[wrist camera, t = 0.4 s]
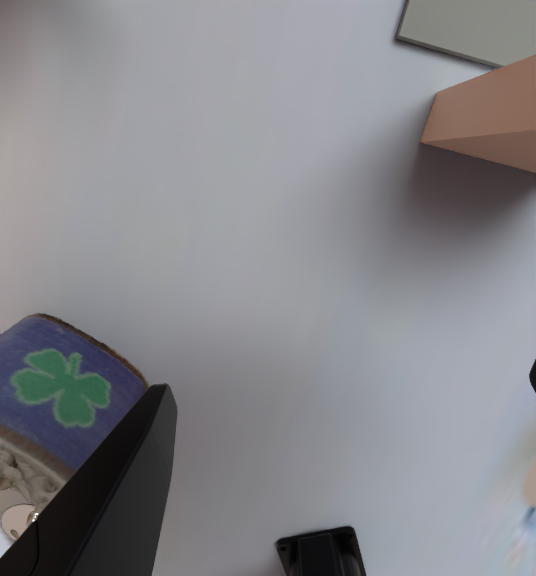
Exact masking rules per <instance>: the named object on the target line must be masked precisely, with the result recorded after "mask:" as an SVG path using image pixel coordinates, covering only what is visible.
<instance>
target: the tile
mask: <svg viewBox="0 0 536 576" xmlns="http://www.w3.org/2000/svg"><path fill="white" fill-rule="evenodd" d="M420 142H421V143H424V144H428V145H432V146H436V147H439V148H443V149H447V150H451V151H455V152H458V153H462V154H466V155H470V156H473V157H477V158H481V159H485V160H489V161H492V162H496V163H500V164H504V165H508V166H511V167H515V168H519V169H523V170H526V171H530V172H534V173H536V54H535V55H533V56H530V57H527V58H525V59H522V60H520V61H517V62H514V63H512V64H509V65H507V66H504V67H501V68H499V69H496V70H494V71H491V72H488V73H486V74H483V75H481V76H478V77H475V78H473V79H470V80H468V81H465V82H462V83H460V84H457V85H455V86H452V87H449V88H447V89H444V90H442V91H439V92H437V94H436V97H435V99H434V102H433V105H432V108H431V111H430V114H429V117H428V119H427V122H426V125H425V128H424V131H423V134H422V137H421V139H420Z"/></svg>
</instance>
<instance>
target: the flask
mask: <svg viewBox="0 0 536 576" xmlns="http://www.w3.org/2000/svg"><path fill="white" fill-rule="evenodd" d="M148 388H149V384H148V382H147V380H146V378H145V377H143V375H142V374H141V372H140V371H139V370H138V369H136V368H135V367H134V366H133V365H131V364H130V363H129V362H128V361H127V360H126V359H125V358H122V357H121V355H120V354H119V353H117V352H116V351H115V350H113V349H111V348H109V347H108V346H107V345H105V344H104V343H100V342H98V341H97V340H95V339H94V338H93V337H91V336H89V335H87V334H86V333H84V332H82V331H81V330H79V329H76V328H74V327H73V326H72V325H69V324H68V323H65V322H64V321H62V320H61V319H58V318H55V317H52V316H49V315H46V314H40V313H37V314H34V315H30V316H27V317H25V318H23V319H22V320H21V321H19V322H18V323H17V324H15V325H13V326H12V327H11V328H10V329H9V330H7V331H5V332H4V333H2V334H1V335H0V490H5V489H8V488H11V489H12V490H15V491H18V492H19V493H21V494H22V495H23V496H24V497H25V498H26V499H27V500H28V501H30V502H32V503H33V505H34V506H35V509H34V512H35V513H37V514H39V513H41V511H42V510H43V509H44V508H45V507H46V506H47V505H48V503H49V502H50V501H51V500H52V499H53V498H54V496H55V495H56V494H57V493H58V492H59V491H60V490H61V488H62V487H63V486H64V485H65V484H66V483H67V481H68V480H69V479H70V478H71V477H72V476H73V475H74V473H75V472H76V471H77V470H78V469H79V468H80V466H81V465H82V464H83V463H84V462H85V461H86V460H87V458H88V457H89V456H90V455H91V454H92V453H93V451H94V450H95V449H96V448H97V447H98V446H99V445H100V443H101V442H102V441H103V440H104V439H105V438H106V436H107V435H108V434H109V433H110V432H111V431H112V430H113V428H114V427H115V426H116V425H117V424H118V423H119V421H120V420H121V419H122V418H123V417H124V416H125V415H126V413H127V412H128V411H129V410H130V409H131V408H132V406H133V405H134V404H135V403H136V402H137V401H138V400H139V398H140V397H141V396H142V395H143V394H144V393H145V391H146V390H147V389H148Z"/></svg>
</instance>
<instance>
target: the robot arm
mask: <svg viewBox="0 0 536 576" xmlns="http://www.w3.org/2000/svg"><path fill="white" fill-rule="evenodd" d="M529 378H530V382H531V385H532V387H533V389H534V391H535V392H536V359H535V362H534V364H533V366H532V368H531V371H530V374H529ZM176 422H177V405H176V402H175V399H174V396H173V394H172V391H171V388H170V386H169V385H168V384H166V383H165V384H154V385H151V386H150V387H149V388H148V389H147V390H146V391H145V393H144V394H143V395H142V396H141V397H140V398H139V400H138V401H137V402H136V403H135V404H134V405H133V406H132V408H131V409H130V410H129V411H128V412H127V413H126V415H125V416H124V417H123V418H122V419H121V420H120V421H119V423H118V424H117V425H116V426H115V427H114V428H113V430H112V431H111V432H110V433H109V434H108V435H107V436H106V438H105V439H104V440H103V441H102V442H101V443H100V445H99V446H98V447H97V448H96V449H95V450H94V451H93V453H92V454H91V455H90V456H89V457H88V458H87V460H86V461H85V462H84V463H83V464H82V465H81V466H80V468H79V469H78V470H77V471H76V472H75V473H74V475H73V476H72V477H71V478H70V479H69V480H68V481H67V483H66V484H65V485H64V486H63V487H62V488H61V490H60V491H59V492H58V493H57V494H56V495H55V496H54V498H53V499H52V500H51V501H50V502H49V503H48V505H47V506H46V507H45V508H44V509H43V510H42V511H41V513H40V514H39V515H38V516H37V520H34V521H33V522H32V523H31V524H30V525H29V526H28V527H27V529H26V530H25V531H24V532H23V533H22V534H21V535H20V537H19V538H18V539H17V540H16V541H15V542H14V543H13V544H12V546H11V547H10V548H9V549H8V550H7V551H6V552H5V553H4V555H3V556H2V557H1V558H0V576H152V571H153V566H154V561H155V556H156V551H157V546H158V541H159V536H160V531H161V526H162V521H163V516H164V511H165V506H166V501H167V496H168V492H169V487H170V481H171V475H172V466H173V455H174V444H175V433H176ZM277 550H278V553H279V556H280V558H281V561H282V564H283V567H284V569H285V572H286V575H287V576H366V572H365V568H364V564H363V561H362V557H361V553H360V549H359V545H358V541H357V537H356V533H355V530H354V528H352V527H346V528H341V529H336V530H330V531H325V532H320V533H315V534H309V535H304V536H299V537H294V538H289V539H283V540H280V541H278V543H277Z"/></svg>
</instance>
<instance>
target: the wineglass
mask: <svg viewBox="0 0 536 576" xmlns="http://www.w3.org/2000/svg"><path fill="white" fill-rule="evenodd" d="M34 509H35V506H34V505H28V504H21V505H15V506H12V507H10V508H9V509H7V510H6V511H5V512H4V514H3V515H2V518H1V524H2V527H3V529H4V531H5V532H6V533H7V534H8V535H9V536H10V537H11V538H13V539H14V540H17V539H18V538H19V537H20V535H21V534H22V533H23V532H24V531H25V530H26V529H27V527H28V526H29V525H30V524H31V523H32V522H33V521H34V520H37V516H38V515H39V514H40V513H39V514H37V513H35V512H34Z"/></svg>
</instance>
